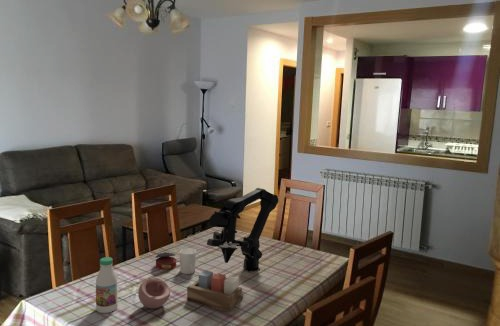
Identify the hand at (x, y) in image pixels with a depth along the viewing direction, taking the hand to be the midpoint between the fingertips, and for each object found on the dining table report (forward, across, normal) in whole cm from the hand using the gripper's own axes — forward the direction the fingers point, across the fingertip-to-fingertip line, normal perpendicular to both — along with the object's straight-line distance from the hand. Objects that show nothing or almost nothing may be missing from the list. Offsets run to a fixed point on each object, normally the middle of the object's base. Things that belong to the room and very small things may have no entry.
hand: (226, 262), depth 180 cm
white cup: (+7, +9, -20) cm, 23 cm away
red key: (+11, +8, +10) cm, 17 cm away
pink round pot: (+17, +33, +5) cm, 37 cm away
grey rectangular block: (+11, +11, +5) cm, 17 cm away
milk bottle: (+19, +49, -2) cm, 53 cm away
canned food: (+7, +16, -30) cm, 35 cm away
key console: (+13, +9, +11) cm, 20 cm away
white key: (+11, +5, +15) cm, 19 cm away
